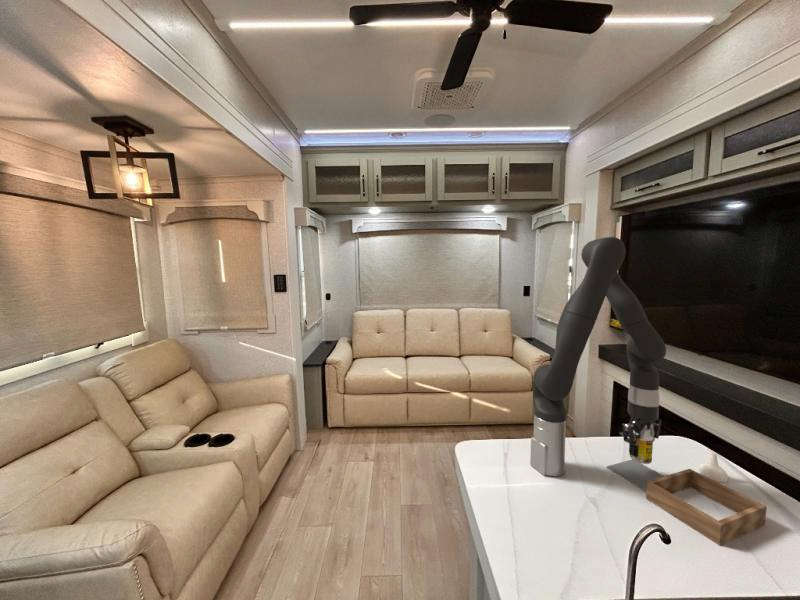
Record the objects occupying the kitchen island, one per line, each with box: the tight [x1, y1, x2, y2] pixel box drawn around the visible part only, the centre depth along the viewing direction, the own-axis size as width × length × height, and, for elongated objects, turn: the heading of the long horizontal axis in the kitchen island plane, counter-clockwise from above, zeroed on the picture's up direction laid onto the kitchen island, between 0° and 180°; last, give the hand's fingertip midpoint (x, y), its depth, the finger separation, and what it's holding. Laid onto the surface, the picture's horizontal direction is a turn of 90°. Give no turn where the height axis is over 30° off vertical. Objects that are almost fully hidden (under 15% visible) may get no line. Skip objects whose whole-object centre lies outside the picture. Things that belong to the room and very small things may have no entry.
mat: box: [606, 459, 665, 492], centre depth 98 cm, size 12×12×1 cm
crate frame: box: [645, 468, 767, 546], centre depth 82 cm, size 18×16×5 cm
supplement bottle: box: [628, 429, 654, 465], centre depth 97 cm, size 6×6×10 cm
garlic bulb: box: [698, 451, 728, 484], centre depth 96 cm, size 6×6×8 cm
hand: (640, 453), depth 97 cm, fingers closed on supplement bottle, 5 cm apart
